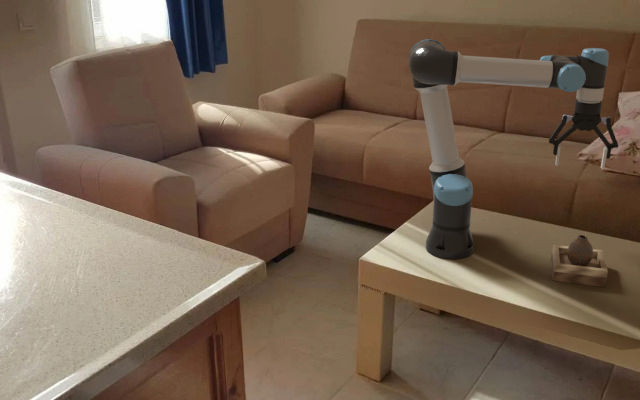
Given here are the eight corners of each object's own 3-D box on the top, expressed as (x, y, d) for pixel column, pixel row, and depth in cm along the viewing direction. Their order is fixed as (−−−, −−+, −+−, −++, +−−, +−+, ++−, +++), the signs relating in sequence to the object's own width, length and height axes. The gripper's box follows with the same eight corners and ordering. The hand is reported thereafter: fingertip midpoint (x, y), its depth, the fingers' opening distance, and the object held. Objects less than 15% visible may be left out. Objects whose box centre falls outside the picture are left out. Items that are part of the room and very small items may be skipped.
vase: (596, 266, 181) (600, 239, 178) (577, 270, 179) (581, 243, 176) (579, 256, 187) (583, 230, 184) (560, 260, 185) (564, 233, 182)
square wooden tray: (552, 280, 180) (554, 265, 178) (551, 259, 192) (553, 244, 191) (605, 287, 176) (607, 271, 174) (600, 265, 188) (602, 250, 187)
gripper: (631, 99, 190) (620, 165, 198) (545, 96, 197) (538, 159, 205) (635, 105, 184) (623, 173, 192) (546, 101, 191) (538, 166, 199)
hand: (579, 166), depth 198 cm, fingers open, 13 cm apart
